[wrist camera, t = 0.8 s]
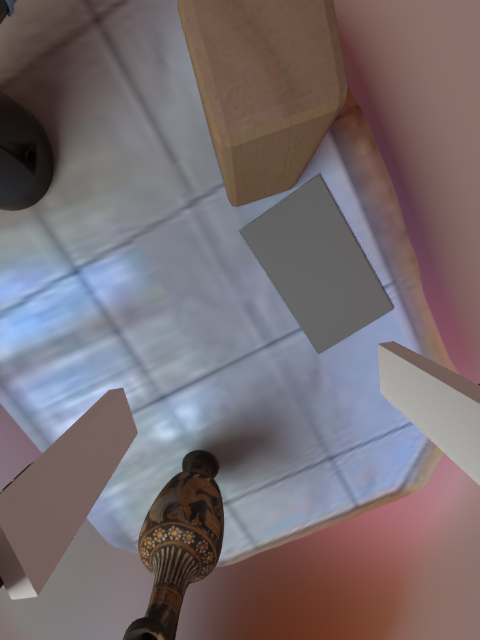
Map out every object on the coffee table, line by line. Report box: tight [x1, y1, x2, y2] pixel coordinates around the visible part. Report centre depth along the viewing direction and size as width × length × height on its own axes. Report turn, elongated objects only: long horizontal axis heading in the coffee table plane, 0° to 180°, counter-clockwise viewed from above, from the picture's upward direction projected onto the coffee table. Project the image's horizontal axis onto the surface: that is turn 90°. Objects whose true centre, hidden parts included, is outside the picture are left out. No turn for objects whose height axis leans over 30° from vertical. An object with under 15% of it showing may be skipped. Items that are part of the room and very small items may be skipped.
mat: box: [239, 174, 394, 354], centre depth 38 cm, size 24×14×1 cm, turn 34°
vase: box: [123, 451, 224, 640], centre depth 32 cm, size 12×12×30 cm
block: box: [178, 0, 348, 207], centre depth 26 cm, size 10×10×20 cm
